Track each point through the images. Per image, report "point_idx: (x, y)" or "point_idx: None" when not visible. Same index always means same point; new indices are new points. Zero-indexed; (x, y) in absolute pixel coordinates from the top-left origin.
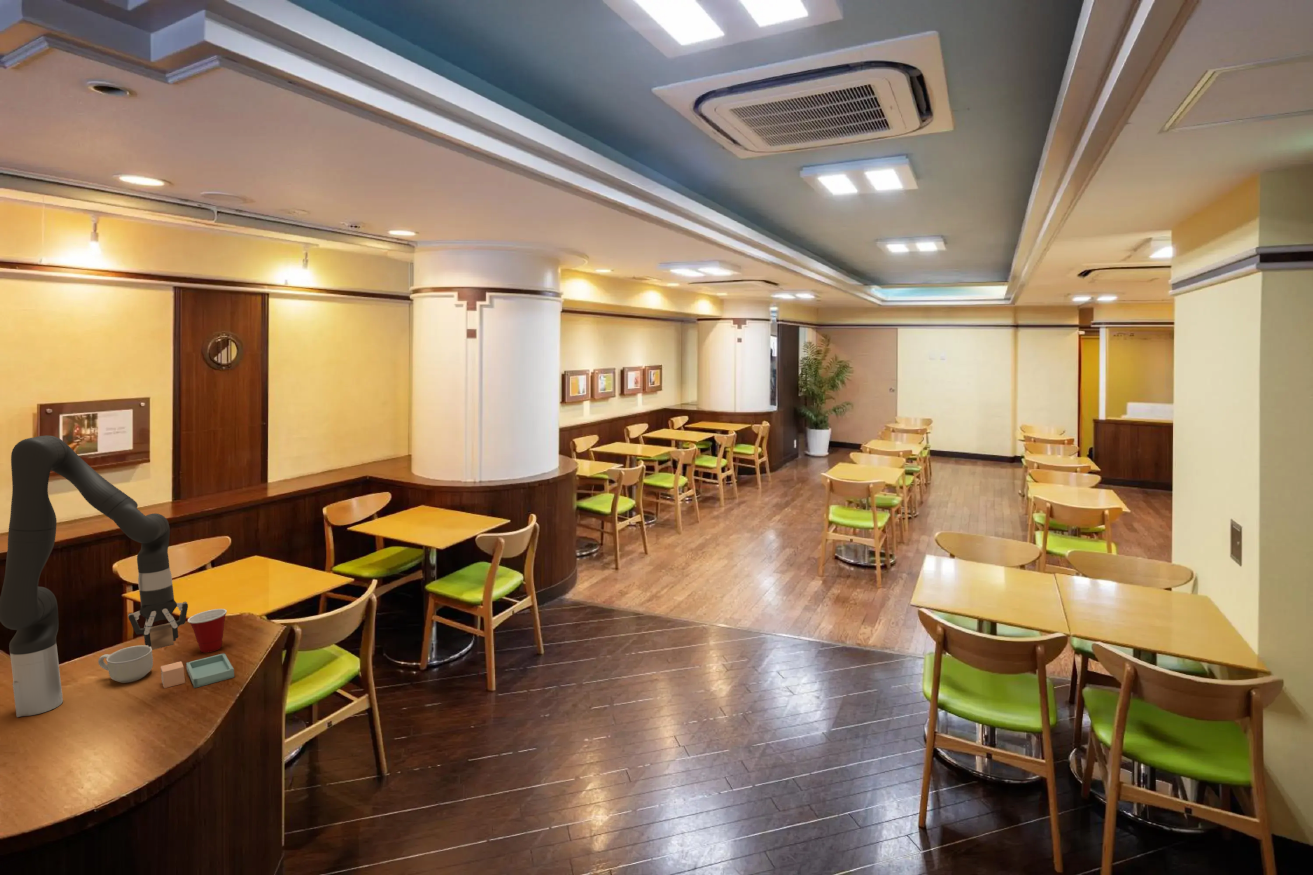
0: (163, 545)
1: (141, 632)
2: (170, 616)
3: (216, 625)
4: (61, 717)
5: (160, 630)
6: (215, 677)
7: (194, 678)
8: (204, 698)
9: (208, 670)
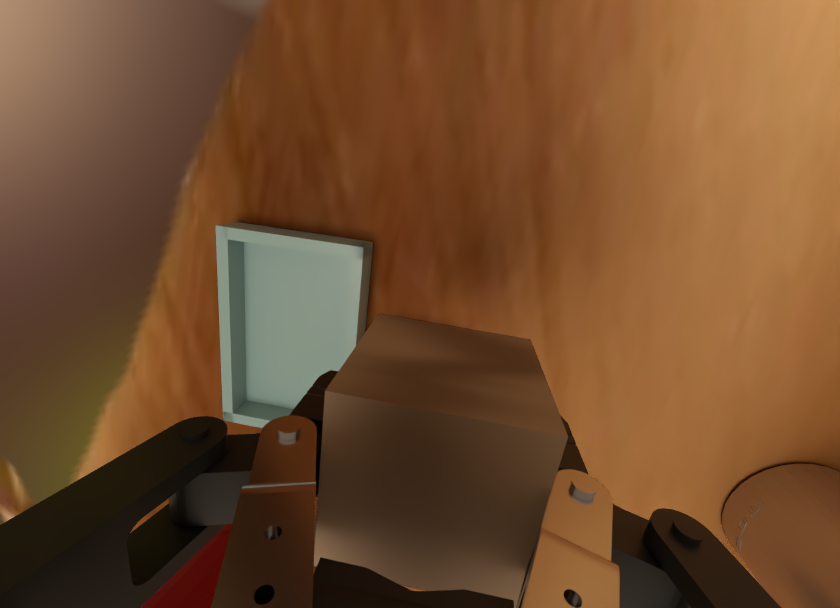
0: None
1: (631, 526)
2: (245, 555)
3: (175, 588)
4: (787, 373)
5: (451, 411)
6: (291, 233)
7: (357, 259)
8: (367, 92)
9: (300, 351)
